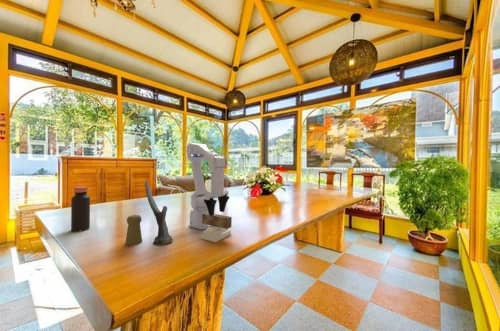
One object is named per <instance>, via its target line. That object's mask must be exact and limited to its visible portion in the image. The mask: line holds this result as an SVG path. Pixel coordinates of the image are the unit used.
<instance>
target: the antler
mask: <svg viewBox="0 0 500 331" xmlns="http://www.w3.org/2000/svg"><path fill="white" fill-rule="evenodd" d="M149 184H150V183H148V180H147V181H145V183H144V187H145V192H146V197H147V200H148V204H149V206H150V209H151V211H152V213H153V215H154V216H155V221H156V224H157V227H158V229H157V230H158V231H157V236H156V237H154V239H153V242H152V244H153V245H154V246H155V245H157V246H158V245H159V246H163V245H166V244H169V243H172V241H173V240H174V238H173V237H172V235H170V234H169V228H168V225H167V223H166V222H167V221H166V216H167V211H168V206H166V205H164V206H162V209H161V211H160V209H159V207H158V206H157V204H156V200H154V197H153V194H152V191H151V189H150V185H149Z"/></svg>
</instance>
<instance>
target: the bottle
mask: <svg viewBox="0 0 500 331" xmlns="http://www.w3.org/2000/svg"><path fill="white" fill-rule="evenodd" d="M88 191H89V190H88V186H76V187H75V186H74V187H73V193H74V196H72V197H71V205H70V206H71V209H70V210H71V217H70V231H71V232H74V233H75V232H77V233H78V232H83V231H87V230H90V227H91V224H90V223H91V197H90V195H88Z"/></svg>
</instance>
